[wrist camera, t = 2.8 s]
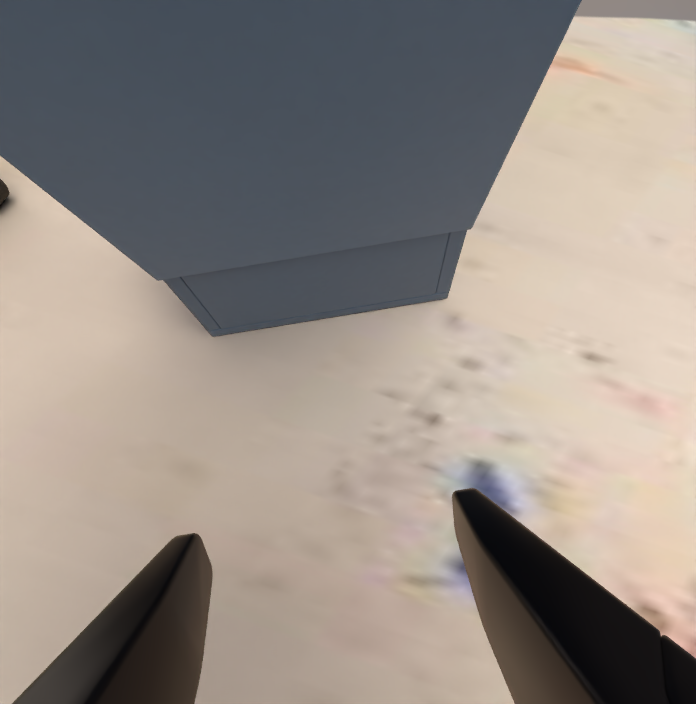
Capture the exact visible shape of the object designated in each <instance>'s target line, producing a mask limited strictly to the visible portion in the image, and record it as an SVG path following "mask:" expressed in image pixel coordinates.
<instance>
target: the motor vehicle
mask: <svg viewBox="0 0 696 704" xmlns="http://www.w3.org/2000/svg"><path fill="white" fill-rule="evenodd" d="M8 195H9V190H8V187H7V186H6V184H5V183H4V182H3V181H2V180H1V179H0V204H1V203H2V202H3V201H4V200H5V198H6V197H7V196H8Z"/></svg>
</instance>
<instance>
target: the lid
mask: <svg viewBox="0 0 696 704" xmlns="http://www.w3.org/2000/svg"><path fill="white" fill-rule="evenodd" d="M581 1H582V0H0V156H1V157H3V158H4V159H5V160H6V161H8V162H9V163H10V164H12V165H13V166H14V167H15V168H17V169H18V170H19V171H20V172H22V173H23V174H24V175H25V176H27V177H28V178H29V179H30V180H32V181H33V182H34V183H35V184H37V185H38V186H39V187H40V188H42V189H43V190H44V191H45V192H47V193H48V194H49V195H51V196H52V197H53V198H54V199H56V200H57V201H58V202H59V203H61V204H62V205H63V206H64V207H66V208H67V209H68V210H69V211H71V212H72V213H73V214H74V215H76V216H77V217H78V218H79V219H81V220H82V221H83V222H84V223H86V224H87V225H88V226H90V227H91V228H92V229H93V230H95V231H96V232H97V233H98V234H100V235H101V236H102V237H103V238H105V239H106V240H107V241H108V242H110V243H111V244H112V245H113V246H115V247H116V248H117V249H118V250H120V251H121V252H122V253H123V254H125V255H126V256H127V257H129V258H130V259H131V260H132V261H134V262H135V263H136V264H137V265H139V266H140V267H141V268H142V269H144V270H145V271H146V272H147V273H149V274H150V275H151V276H152V277H154V278H155V279H156V280H164V279H170V278H176V277H182V276H189V275H195V274H201V273H207V272H213V271H219V270H225V269H231V268H237V267H243V266H249V265H255V264H261V263H267V262H274V261H280V260H286V259H292V258H298V257H304V256H310V255H316V254H322V253H328V252H334V251H340V250H346V249H352V248H358V247H365V246H371V245H377V244H383V243H389V242H395V241H401V240H407V239H413V238H419V237H425V236H431V235H437V234H443V233H450V232H456V231H462V230H468V229H471V228H472V227H473V225H474V223H475V220H476V218H477V216H478V214H479V212H480V210H481V208H482V206H483V204H484V202H485V200H486V198H487V196H488V194H489V191H490V189H491V187H492V185H493V183H494V181H495V179H496V177H497V175H498V173H499V171H500V169H501V167H502V164H503V162H504V160H505V158H506V156H507V154H508V152H509V150H510V148H511V146H512V144H513V142H514V140H515V138H516V135H517V133H518V131H519V129H520V127H521V125H522V123H523V121H524V119H525V117H526V115H527V113H528V111H529V108H530V106H531V104H532V102H533V100H534V98H535V96H536V94H537V92H538V90H539V88H540V86H541V84H542V82H543V79H544V77H545V75H546V73H547V71H548V69H549V67H550V65H551V63H552V61H553V59H554V57H555V55H556V52H557V50H558V48H559V46H560V44H561V42H562V40H563V38H564V36H565V34H566V32H567V30H568V28H569V26H570V23H571V21H572V19H573V17H574V15H575V13H576V11H577V9H578V7H579V5H580V2H581Z"/></svg>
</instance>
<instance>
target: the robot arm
mask: <svg viewBox="0 0 696 704" xmlns="http://www.w3.org/2000/svg"><path fill="white" fill-rule="evenodd" d="M452 502H453V515H454V527H455V533H456V537H457V541H458V544H459V548H460V551H461V554H462V558H463V561H464V565H465V568H466V571H467V575H468V578H469V582H470V585H471V588H472V592H473V595H474V599H475V602H476V605H477V609H478V612H479V615H480V618H481V621H482V624H483V627H484V630H485V632H486V635H487V637H488V640H489V643H490V645H491V647H492V650H493V652H494V655H495V657H496V659H497V662H498V664H499V667H500V669H501V671H502V674H503V676H504V679H505V681H506V684H507V686H508V688H509V691H510V693H511V696H512V698H513V700H514V703H515V704H696V658H694V657H693V656H692V655H691V654H689V653H688V652H687V651H685V650H684V649H683V648H681V647H680V646H679V645H678V644H676V643H675V642H674V641H672V640H671V639H670V638H669V637H667V636H666V635H662V636H661V635H660V631H659V630H658V629H657V628H655V627H654V626H653V625H651V624H650V623H649V622H648V621H646V620H645V619H644V618H642V617H641V616H640V615H639V614H637V613H636V612H635V611H633V610H632V609H631V608H629V607H628V606H627V605H626V604H624V603H623V602H622V601H620V600H619V599H618V598H617V597H615V596H614V595H613V594H611V593H610V592H609V591H608V590H606V589H605V588H604V587H602V586H601V585H600V584H599V583H597V582H596V581H595V580H593V579H592V578H591V577H589V576H588V575H587V574H586V573H584V572H583V571H582V570H580V569H579V568H578V567H577V566H575V565H574V564H573V563H571V562H570V561H569V560H568V559H566V558H565V557H564V556H562V555H561V554H560V553H558V552H557V551H556V550H555V549H553V548H552V547H551V546H549V545H548V544H547V543H546V542H544V541H543V540H542V539H540V538H539V537H538V536H537V535H535V534H534V533H533V532H531V531H530V530H529V529H528V528H526V527H525V526H524V525H522V524H521V523H520V522H518V521H517V520H516V519H515V518H513V517H512V516H511V515H509V514H508V513H507V512H506V511H504V510H503V509H502V508H500V507H499V506H498V505H497V504H495V503H494V502H493V501H491V500H490V499H489V498H488V497H486V496H485V495H484V494H482V493H481V492H480V491H478V490H477V489H475V488H469V489H463V490H457V491H455V492H454V493H453V495H452ZM212 576H213V573H212V566H211V563H210V560H209V557H208V555H207V552H206V549H205V547H204V544H203V542H202V539H201V537H200V536H199V535H198V534H196V533H192V534H186V535H180V536H176V537H174V538H173V539H172V540H171V541H170V542H169V543H168V544H167V545H166V546H165V547H164V548H163V549H162V550H161V551H160V552H159V553H158V554H157V555H156V556H155V557H154V558H153V559H152V560H151V561H150V562H149V563H148V564H147V565H146V566H145V567H144V568H143V569H142V570H141V571H140V573H139V574H138V575H137V576H136V577H135V578H134V579H133V580H132V581H131V582H130V583H129V584H128V585H127V586H126V587H125V588H124V589H123V590H122V591H121V592H120V593H119V594H118V595H117V596H116V597H115V598H114V599H113V600H112V601H111V602H110V603H109V604H108V605H107V607H106V608H105V609H104V610H103V611H102V612H101V613H100V614H99V615H98V616H97V617H96V618H95V619H94V620H93V621H92V622H91V623H90V624H89V625H88V626H87V627H86V628H85V629H84V630H83V631H82V632H81V633H80V634H79V635H78V636H77V637H76V638H75V639H74V640H73V642H72V643H71V644H70V645H69V646H68V647H67V648H66V649H65V650H64V651H63V652H62V653H61V654H60V655H59V656H58V657H57V658H56V659H55V660H54V661H53V662H52V663H51V664H50V665H49V666H48V667H47V668H46V669H45V670H44V671H43V672H42V673H41V674H40V675H39V677H38V678H37V679H36V680H35V681H34V682H33V683H32V684H31V685H30V686H29V687H28V688H27V689H26V690H25V691H24V692H23V693H22V694H21V695H20V696H19V697H18V698H17V699H16V700H15V701H14V702H13V703H12V704H194V702H195V698H196V693H197V689H198V684H199V679H200V674H201V668H202V661H203V653H204V645H205V637H206V628H207V620H208V612H209V603H210V595H211V587H212Z"/></svg>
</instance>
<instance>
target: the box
mask: <svg viewBox="0 0 696 704" xmlns="http://www.w3.org/2000/svg"><path fill="white" fill-rule="evenodd" d="M466 232H467V230H462V231H456V232H450V233H443V234H437V235H431V236H425V237H419V238H413V239H407V240H401V241H395V242H389V243H383V244H377V245H371V246H365V247H358V248H352V249H346V250H340V251H334V252H328V253H322V254H316V255H310V256H304V257H298V258H292V259H286V260H280V261H274V262H267V263H261V264H255V265H249V266H243V267H237V268H231V269H225V270H219V271H213V272H207V273H201V274H195V275H189V276H182V277H176V278H170V279H164V281H165V283H166V284H167V285H168V286H169V287H170V288H171V289H172V291H173V292H174V293H175V294H176V295H177V296H178V297H179V299H180V300H181V301H182V302H183V303H184V304H185V306H186V307H187V308H188V309H189V310H190V311H191V312H192V314H193V315H194V316H195V317H196V318H197V319H198V320H199V322H200V323H201V324H202V325H203V326H204V327H205V329H206V330H207V331H208V332H209V333H210V334H211V335H212V336H220V335H226V334H232V333H239V332H245V331H251V330H257V329H263V328H269V327H275V326H281V325H287V324H294V323H300V322H306V321H312V320H318V319H324V318H330V317H336V316H342V315H349V314H355V313H361V312H367V311H373V310H379V309H385V308H391V307H397V306H403V305H410V304H416V303H422V302H428V301H434V300H440V299H446V298H447V297H448V293H449V290H450V287H451V283H452V280H453V277H454V273H455V270H456V266H457V263H458V259H459V256H460V253H461V249H462V246H463V242H464V239H465V235H466Z"/></svg>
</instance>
